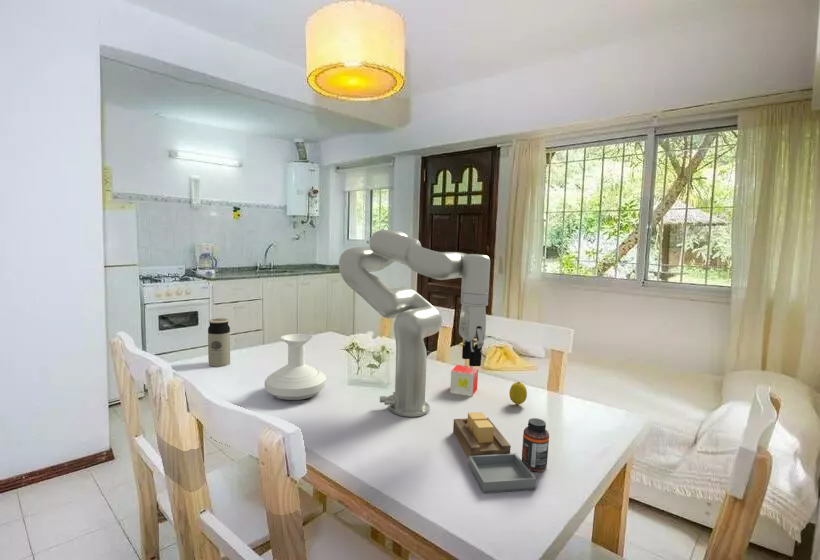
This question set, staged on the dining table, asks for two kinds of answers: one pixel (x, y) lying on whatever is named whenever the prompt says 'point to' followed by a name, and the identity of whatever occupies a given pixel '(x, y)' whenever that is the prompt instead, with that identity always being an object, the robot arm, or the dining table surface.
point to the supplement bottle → (535, 445)
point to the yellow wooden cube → (483, 431)
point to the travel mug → (218, 342)
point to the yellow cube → (474, 419)
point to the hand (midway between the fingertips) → (471, 361)
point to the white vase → (295, 373)
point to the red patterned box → (464, 380)
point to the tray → (501, 473)
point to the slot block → (473, 446)
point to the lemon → (518, 393)
